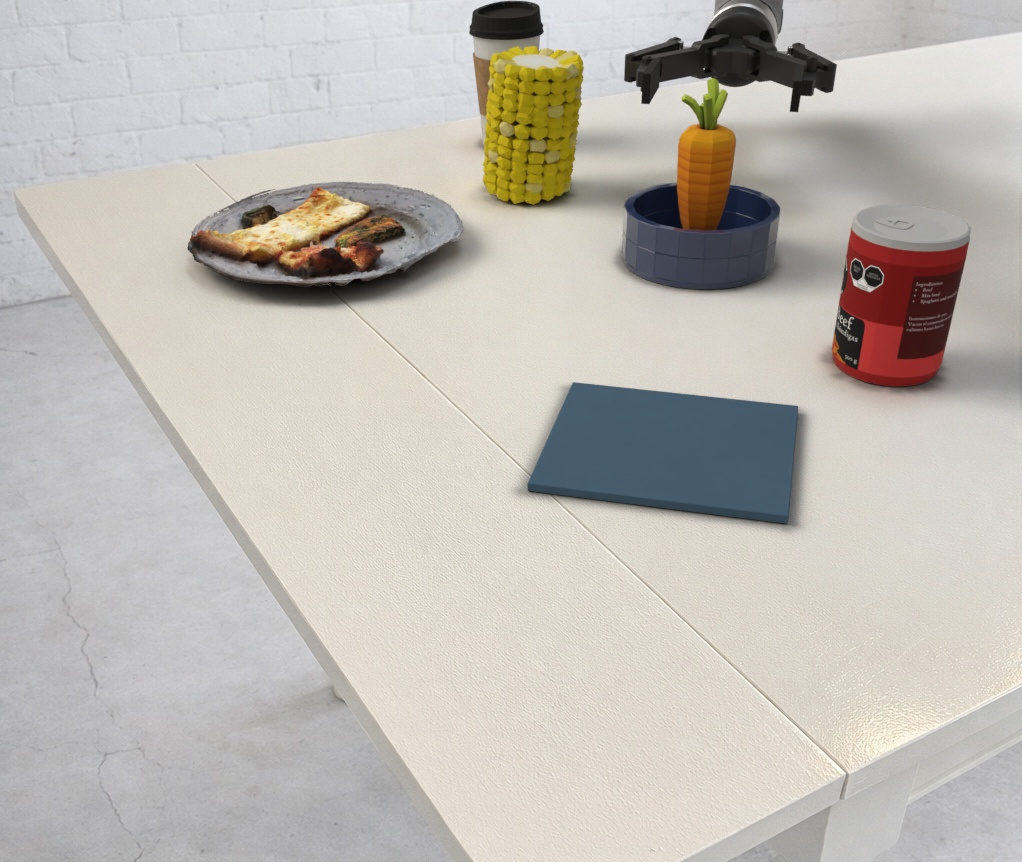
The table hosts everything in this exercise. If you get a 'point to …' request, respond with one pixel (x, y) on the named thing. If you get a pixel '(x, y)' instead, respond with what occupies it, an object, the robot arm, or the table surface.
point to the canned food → (899, 293)
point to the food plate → (324, 233)
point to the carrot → (705, 162)
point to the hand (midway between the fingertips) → (719, 92)
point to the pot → (699, 240)
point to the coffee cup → (501, 39)
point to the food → (531, 123)
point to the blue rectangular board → (671, 452)
